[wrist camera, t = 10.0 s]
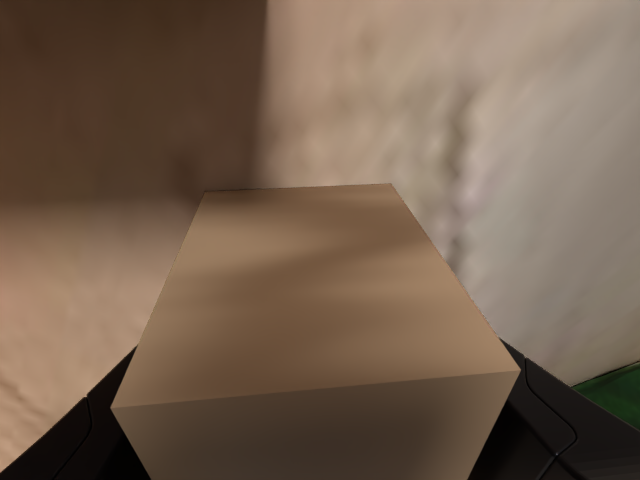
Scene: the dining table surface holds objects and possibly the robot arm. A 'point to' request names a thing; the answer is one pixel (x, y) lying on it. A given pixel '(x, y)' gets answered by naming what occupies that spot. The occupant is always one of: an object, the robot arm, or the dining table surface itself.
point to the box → (616, 393)
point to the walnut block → (312, 347)
